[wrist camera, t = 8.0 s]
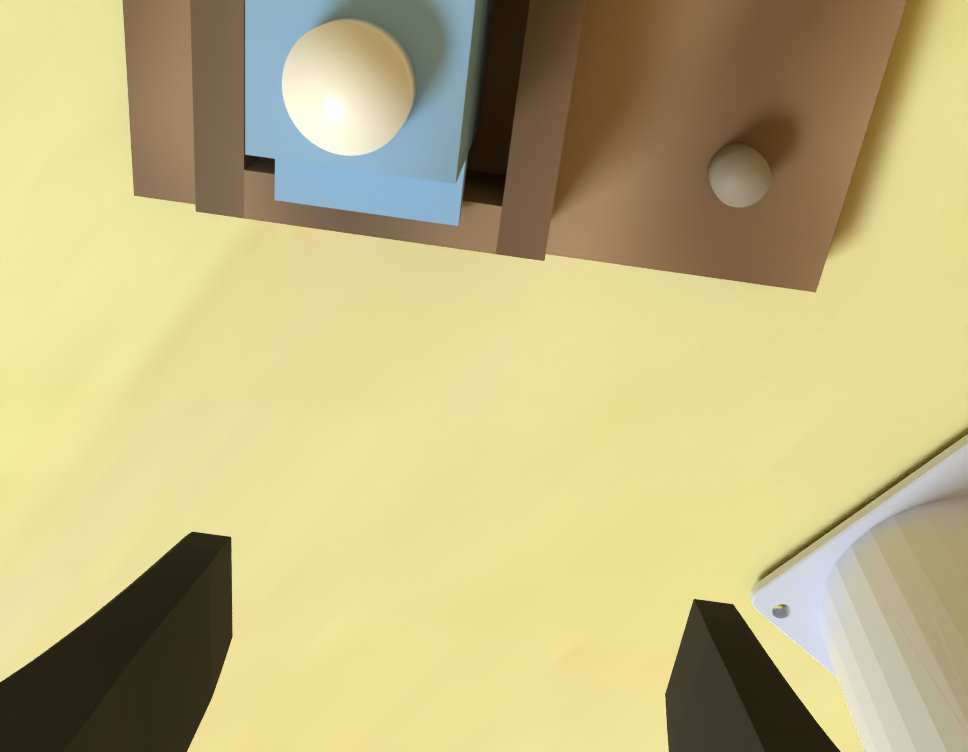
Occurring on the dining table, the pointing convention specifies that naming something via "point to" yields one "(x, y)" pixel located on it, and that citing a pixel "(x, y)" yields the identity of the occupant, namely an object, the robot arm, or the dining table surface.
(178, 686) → the robot arm
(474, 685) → the dining table surface
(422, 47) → the block
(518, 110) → the board
